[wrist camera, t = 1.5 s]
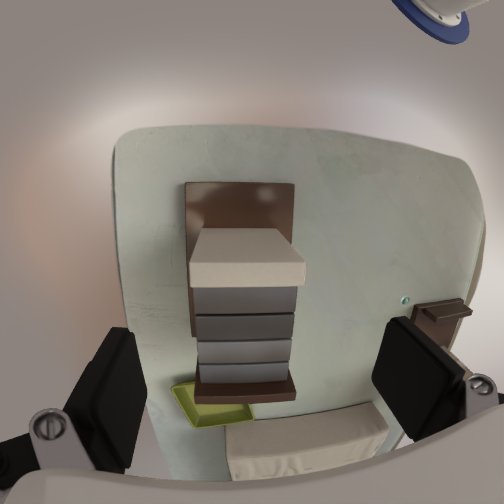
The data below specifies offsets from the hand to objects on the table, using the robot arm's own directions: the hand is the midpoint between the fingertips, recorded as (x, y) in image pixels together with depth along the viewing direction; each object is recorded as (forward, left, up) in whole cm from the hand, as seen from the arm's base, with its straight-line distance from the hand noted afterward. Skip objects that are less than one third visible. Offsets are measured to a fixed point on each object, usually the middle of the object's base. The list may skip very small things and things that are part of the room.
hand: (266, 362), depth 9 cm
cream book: (0, 0, -18) cm, 18 cm away
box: (+42, +10, -19) cm, 47 cm away
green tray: (+21, -3, -19) cm, 28 cm away
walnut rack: (+3, 0, -19) cm, 19 cm away
